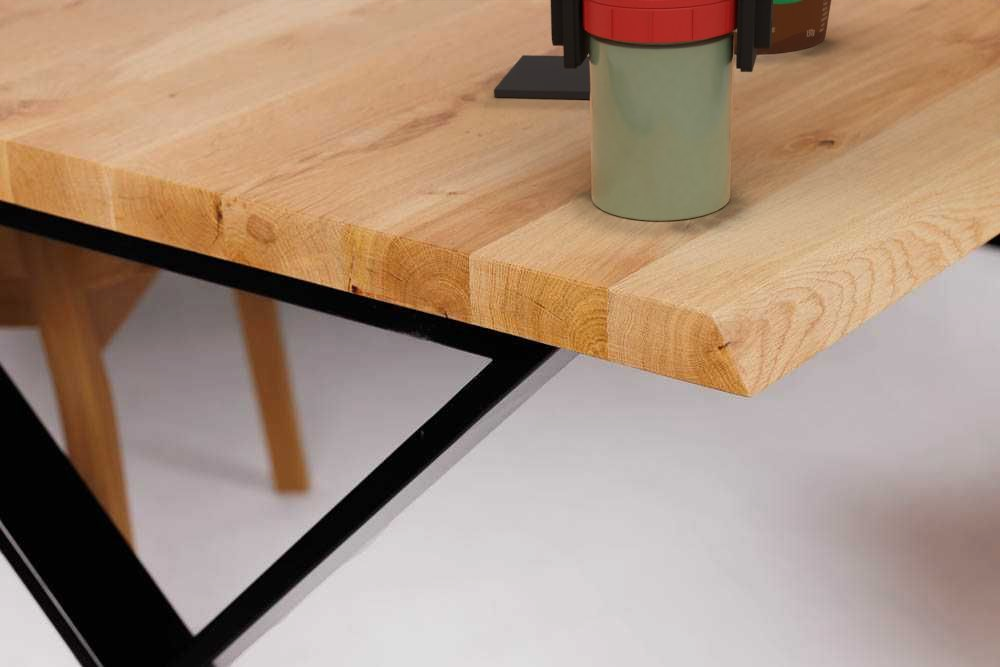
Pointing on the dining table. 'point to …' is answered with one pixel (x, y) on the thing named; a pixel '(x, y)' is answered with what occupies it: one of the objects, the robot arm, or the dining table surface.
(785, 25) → the food container
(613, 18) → the lid
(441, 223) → the dining table surface
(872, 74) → the dining table surface
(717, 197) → the jar
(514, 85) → the mat
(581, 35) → the robot arm
